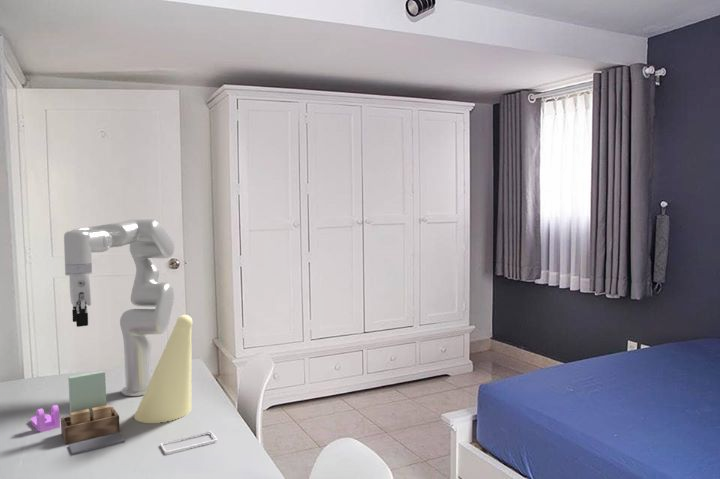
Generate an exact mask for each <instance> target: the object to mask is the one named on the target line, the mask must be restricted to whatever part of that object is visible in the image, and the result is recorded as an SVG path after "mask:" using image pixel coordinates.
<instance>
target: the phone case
mask: <svg viewBox="0 0 720 479" xmlns="http://www.w3.org/2000/svg"><path fill="white" fill-rule="evenodd" d="M208 433H210V434H212V435H211V436H213V437H214V439H211V440H207V441H204V442H200V443H195V444H189V445H188V446H187V445H186V446H183V447H178V448H174V449H171V450H166V448H165V447H164V446H166V445H167V444H169V443H171V442H176V441H181V442H182V440H183V441H186V439H187V440H190V439H189V438H191V439H193V438H192V437H196V436H199V435H203V434H208ZM210 434H209V435H210ZM196 438H197V437H196ZM216 441H218V438H217V437H216V435H215V434H214V433H213V432H212V431H211V430H209V431H205V432H200V433H195V434H192V435H187V436H183V437H180V438H174V439H172V440H171V439H170V440H168V441H167V440H166V441H163V442H160V445H159V446H160V448H161V449H162V452H163V453H164V455H166V456H167V455H172V454H176V453H180V452H183V451H188V450H191V449H190V448H192V449H195V448H194V447H196V448H199V447H198V446H200V447H202V446H201V445H205V444H209V443H213V442H216ZM216 443H217V442H216ZM213 444H214V443H213ZM209 445H210V444H209ZM205 446H206V445H205ZM187 449H188V450H187Z"/></svg>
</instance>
